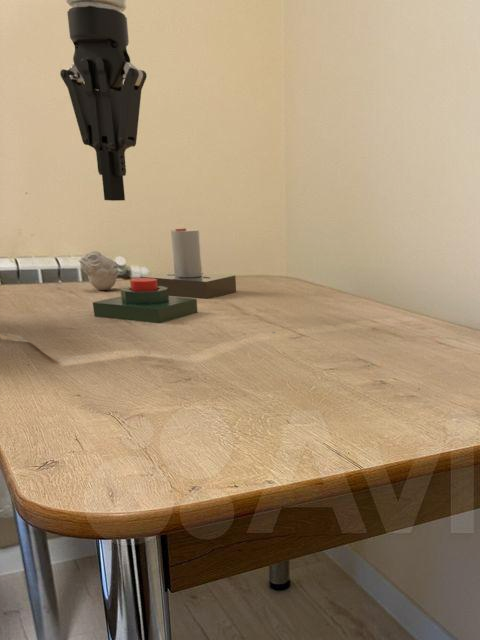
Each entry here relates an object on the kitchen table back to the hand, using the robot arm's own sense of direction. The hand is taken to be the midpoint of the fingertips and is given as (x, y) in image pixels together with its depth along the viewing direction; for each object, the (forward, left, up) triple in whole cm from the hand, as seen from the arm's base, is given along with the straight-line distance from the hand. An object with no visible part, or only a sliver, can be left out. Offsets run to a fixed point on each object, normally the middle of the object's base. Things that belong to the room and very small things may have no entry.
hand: (114, 200), depth 103 cm
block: (+2, +2, -17) cm, 17 cm away
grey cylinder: (-5, +24, -14) cm, 28 cm away
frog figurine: (-21, +19, -17) cm, 33 cm away
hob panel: (-5, +24, -17) cm, 29 cm away
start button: (+2, +2, -13) cm, 13 cm away
